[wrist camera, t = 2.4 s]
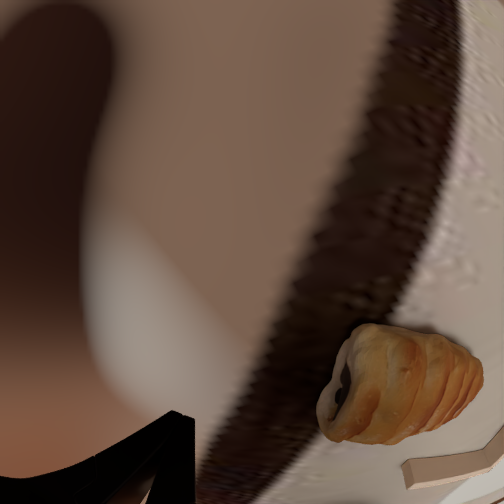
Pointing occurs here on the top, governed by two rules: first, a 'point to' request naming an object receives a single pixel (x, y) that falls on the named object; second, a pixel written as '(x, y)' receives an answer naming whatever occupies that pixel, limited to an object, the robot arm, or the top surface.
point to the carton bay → (453, 465)
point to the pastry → (395, 385)
